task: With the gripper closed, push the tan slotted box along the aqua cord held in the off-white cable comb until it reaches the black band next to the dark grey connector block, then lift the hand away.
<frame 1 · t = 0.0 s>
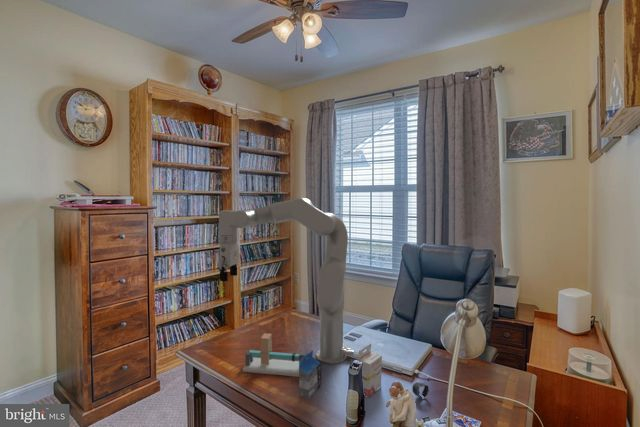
hand: (228, 278, 142), 31 cm above the table, tool pointing down, fingers open, 9 cm apart
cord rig: (276, 368, 127), on the table
tan slotted box: (266, 348, 128), point 7 cm above the table, slide at 0.0 cm
wristwatch: (421, 399, 108), on the table
label tape box: (310, 391, 112), on the table
ink cartridge box: (369, 390, 113), on the table
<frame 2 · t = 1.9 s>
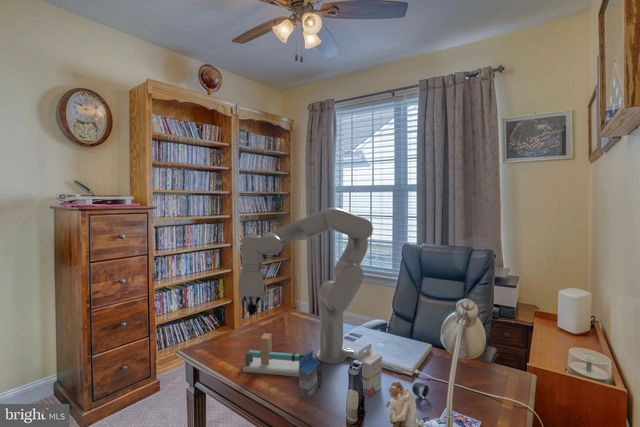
hand: (252, 313, 128), 21 cm above the table, tool pointing down, fingers closed
nothing on the table moved.
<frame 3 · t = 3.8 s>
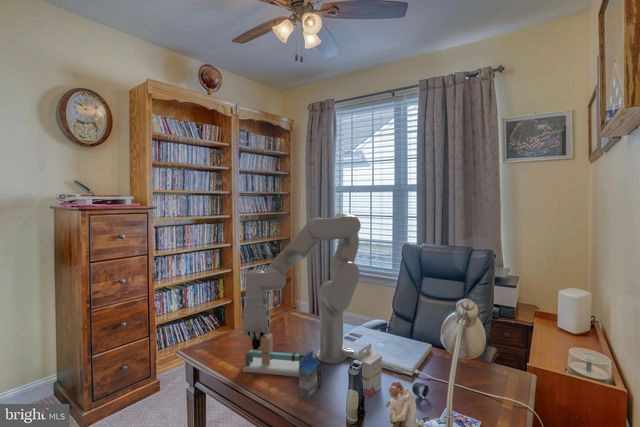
hand: (256, 348, 128), 7 cm above the table, tool pointing down, fingers closed
tan slotted box: (267, 348, 127), point 7 cm above the table, slide at 0.4 cm, touching gripper
everything else where it was.
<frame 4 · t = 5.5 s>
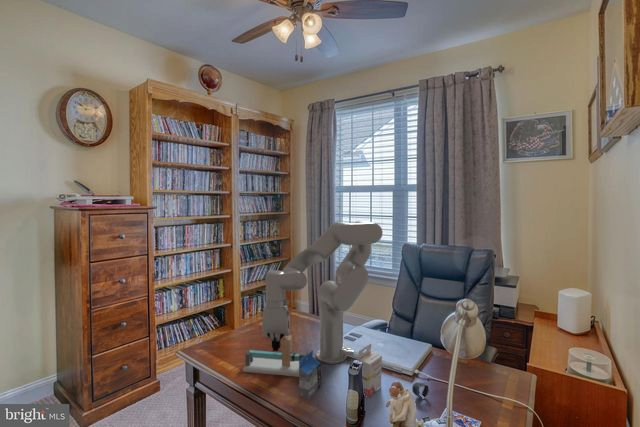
hand: (276, 349, 127), 7 cm above the table, tool pointing down, fingers closed
tan slotted box: (287, 350, 126), point 7 cm above the table, slide at 8.4 cm, touching gripper
everything else where it was.
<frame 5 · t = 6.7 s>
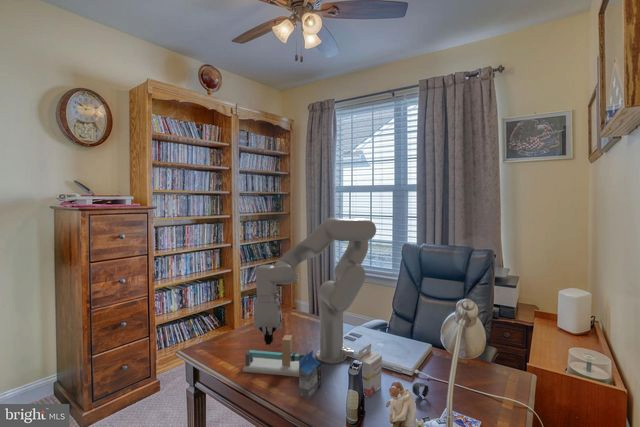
hand: (268, 343, 128), 9 cm above the table, tool pointing down, fingers closed
tan slotted box: (287, 350, 126), point 7 cm above the table, slide at 8.5 cm
everything else where it was.
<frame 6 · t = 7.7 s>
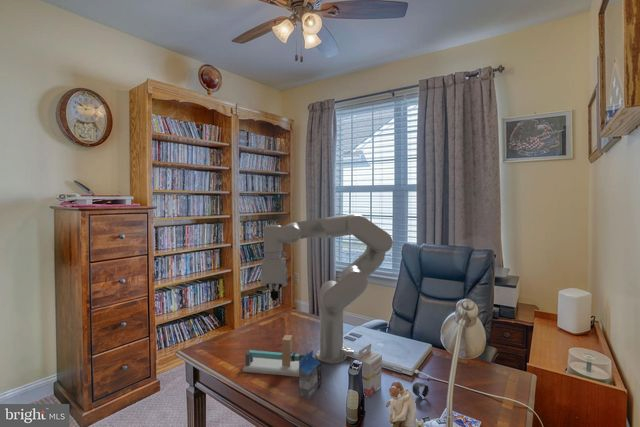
hand: (274, 299, 134), 24 cm above the table, tool pointing down, fingers closed
nothing on the table moved.
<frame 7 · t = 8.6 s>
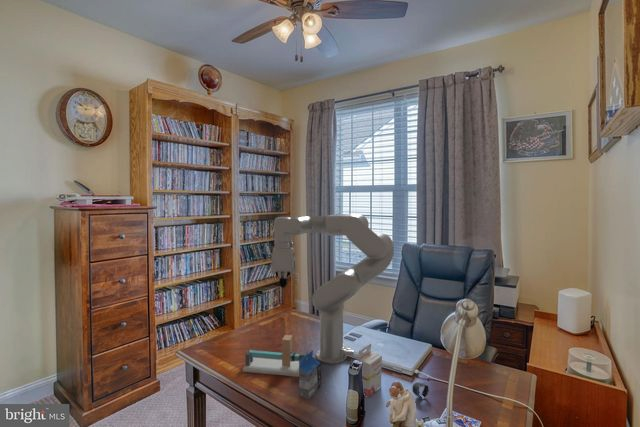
hand: (283, 286, 143), 27 cm above the table, tool pointing down, fingers closed
nothing on the table moved.
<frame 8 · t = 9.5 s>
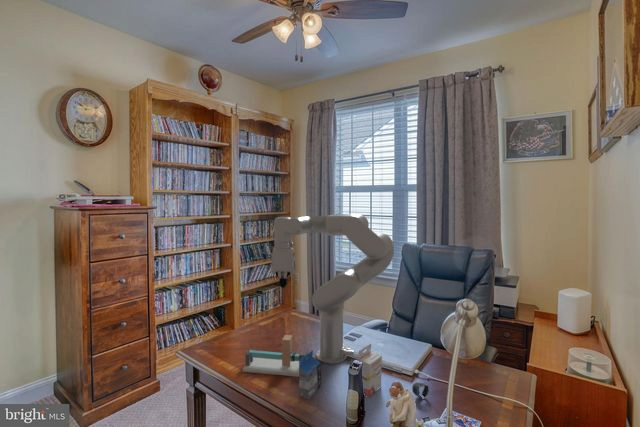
hand: (283, 286, 143), 27 cm above the table, tool pointing down, fingers closed
nothing on the table moved.
at the end: tan slotted box slide at 8.5 cm; the gripper is holding nothing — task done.
